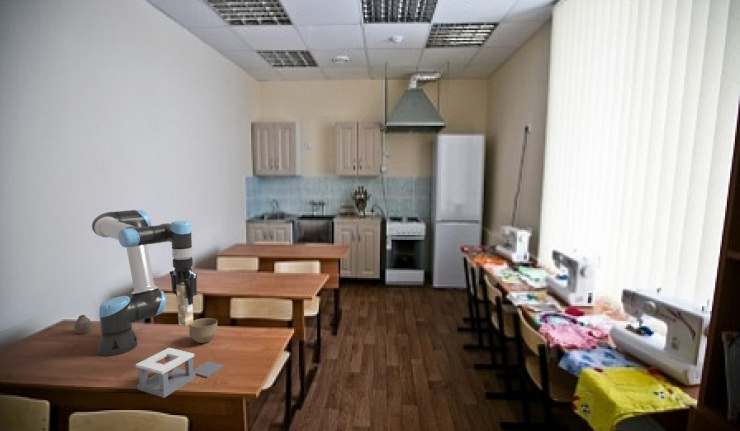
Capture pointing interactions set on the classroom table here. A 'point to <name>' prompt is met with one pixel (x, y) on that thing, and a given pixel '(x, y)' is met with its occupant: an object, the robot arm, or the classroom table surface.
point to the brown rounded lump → (82, 324)
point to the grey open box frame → (165, 372)
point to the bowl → (203, 329)
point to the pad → (207, 369)
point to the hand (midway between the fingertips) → (185, 310)
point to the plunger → (169, 370)
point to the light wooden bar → (183, 307)
